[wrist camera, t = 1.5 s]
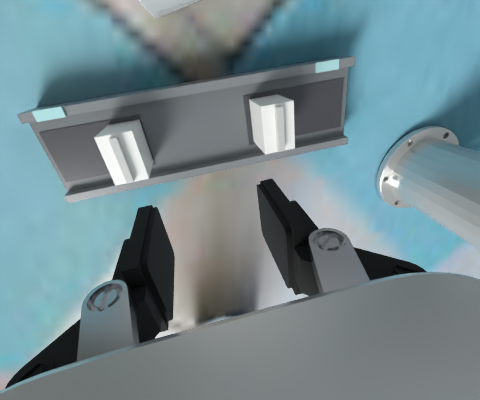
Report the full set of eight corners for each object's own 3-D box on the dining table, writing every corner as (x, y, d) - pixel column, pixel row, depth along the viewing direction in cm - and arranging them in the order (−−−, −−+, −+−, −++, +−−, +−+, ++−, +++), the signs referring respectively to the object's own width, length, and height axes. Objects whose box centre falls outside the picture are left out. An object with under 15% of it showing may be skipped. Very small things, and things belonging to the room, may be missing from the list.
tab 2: (277, 94, 26) (296, 101, 22) (279, 136, 28) (297, 150, 24) (249, 99, 26) (262, 107, 21) (253, 141, 28) (266, 156, 24)
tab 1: (139, 119, 24) (130, 132, 20) (153, 161, 27) (148, 181, 22) (107, 125, 24) (91, 139, 20) (124, 167, 26) (113, 188, 22)
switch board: (336, 56, 28) (356, 56, 25) (332, 136, 32) (348, 144, 29) (35, 107, 24) (15, 114, 21) (78, 188, 29) (67, 203, 26)
